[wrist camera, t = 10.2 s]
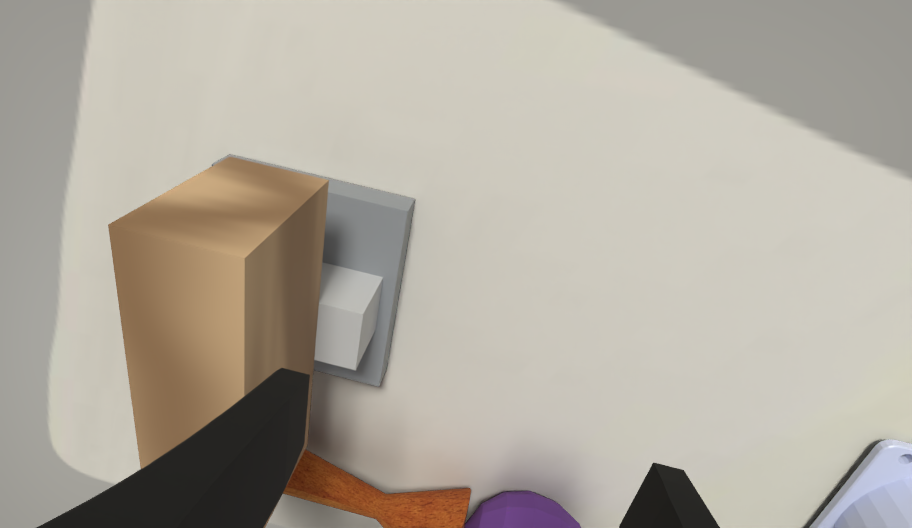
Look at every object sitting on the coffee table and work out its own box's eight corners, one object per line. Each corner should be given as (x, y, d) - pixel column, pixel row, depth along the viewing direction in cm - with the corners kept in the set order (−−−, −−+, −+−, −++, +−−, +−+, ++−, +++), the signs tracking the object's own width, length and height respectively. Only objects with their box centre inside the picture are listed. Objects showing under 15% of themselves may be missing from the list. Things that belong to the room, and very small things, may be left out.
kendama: (135, 401, 21) (624, 601, 20) (223, 339, 27) (608, 493, 26) (116, 516, 23) (563, 706, 22) (201, 436, 29) (560, 583, 28)
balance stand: (415, 198, 20) (389, 242, 16) (386, 368, 23) (360, 431, 20) (229, 154, 20) (167, 188, 17) (231, 329, 24) (181, 384, 20)
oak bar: (329, 180, 16) (244, 258, 11) (307, 445, 21) (244, 568, 17) (229, 156, 16) (108, 224, 11) (232, 425, 21) (150, 543, 17)
